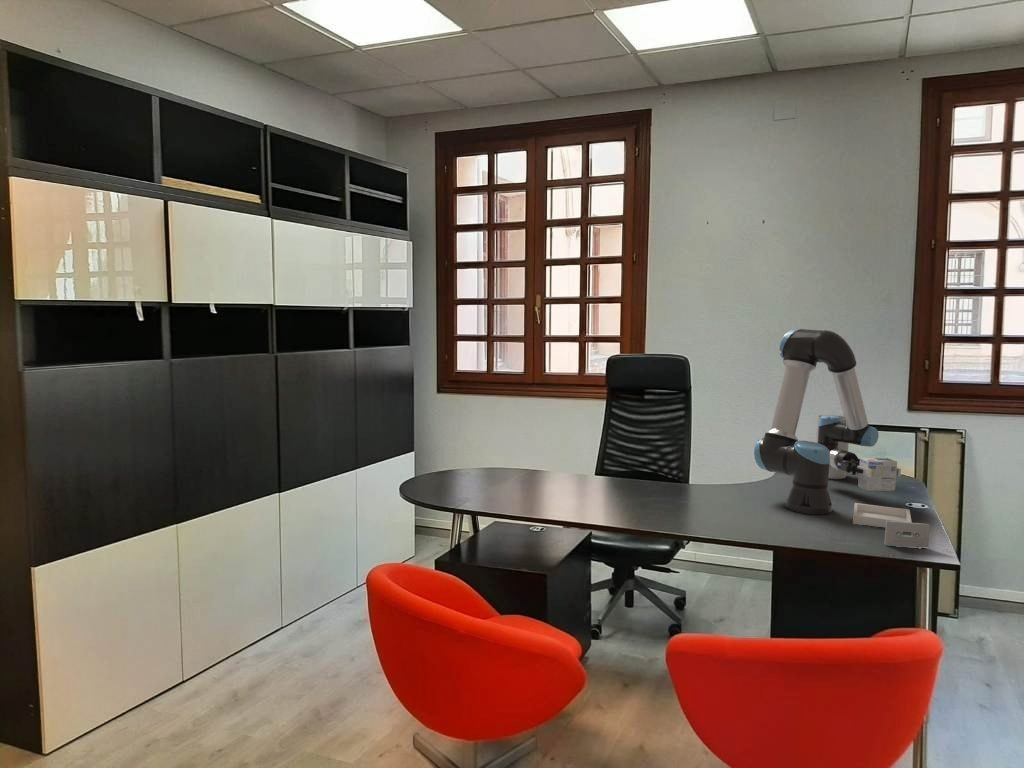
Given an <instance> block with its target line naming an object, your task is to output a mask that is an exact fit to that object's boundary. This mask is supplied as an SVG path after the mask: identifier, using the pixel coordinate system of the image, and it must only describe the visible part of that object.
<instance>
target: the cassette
mask: <svg viewBox="0 0 1024 768" xmlns="http://www.w3.org/2000/svg"><path fill="white" fill-rule="evenodd" d="M930 525H931V524H929V523H921V522H912V523H910V522H896V521H886V528H884V529H885V531H884V540H883V541H884V543H883V544H893V545H902V546H915V547H928V548H929V543H930V531H931V526H930ZM903 533H910V534H911V535H906V534H905V535H903Z"/></svg>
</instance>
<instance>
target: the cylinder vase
mask: <svg viewBox="0 0 1024 768" xmlns="http://www.w3.org/2000/svg"><path fill="white" fill-rule="evenodd" d="M823 415H824V414H819V415H817V419H816V435H815V436H816V437H815V443H818V430H819V427H818V426H819V421H820V417H821V416H823ZM831 415H832V416H838V417H840V421H841V422H842V423H846V422H845V418H844V415H835V414H831ZM838 449H841V450H845V451H848V452H849V443H844V442H838ZM847 473H848V472H846V471H842V470H840V469H839V470H836V468H834V467H831V466H829V477H828V480H842V479H843V480H844V479H846V477H847V475H848V474H847Z"/></svg>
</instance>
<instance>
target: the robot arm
mask: <svg viewBox="0 0 1024 768" xmlns="http://www.w3.org/2000/svg"><path fill="white" fill-rule="evenodd" d="M779 355H780V357H781V358H782V363H783V364H784V366H785V370H784V374H783V377H782V381H781V386H780V389H779V394H778V397H777V403H776V406H775V411H774V415H773V419H772V423H771V427H770V429H768V430H767V431H765V433H764V437H761V438H759V439H758V440H757V441H756V442H755V445H754V450H753V455H754V461H755V463H756V464H757V466H758V467H759V468H760V469H762V470H765V471H768V472H771V473H776V474H780V475H781V474H782V475H786V476H791V477H792V484H791V485H792V486H791V487H790V490H789V493H788V495H787V498H786V500H785V507H786V508H787V509H788V510H790V511H792V512H795V513H799V514H806V515H827V514H831V513H832V511H833V505H832V500H831V497H830V493H829V490H828V488H829V479H828V477H829V466H831V467H834V468H836V470H839V469H840V470H842V471H846V472H847V473H848V474H850V473H851V475H853V476H854V475H855V476H856V475H857V474H858V475H859V474H860V475H863V476H867V477H871V475H872V470H871V469H868V468H864V467H861V466H859V465H860V458H858V456H857V454H856V453H854V452H852V451H851V452H850V451H849V450H848V451H845V450H841V449H838V442H844V443H848V444H850V445H856V446H860V447H867V448H868V447H871V448H872V447H874V446H875V445H876V444H877V443H878V440H879V430H878V429H877V428H876V427H873V426H869V425H870V424H869V420H868V417H867V413H866V408H865V406H864V401H863V397H862V392H861V389H860V385H859V384H860V383H859V381H858V376H857V373H856V369H855V368H856V367H857V360H856V357H855V356H856V355H855V354H854V352H853V349H852V347H850V345H849V343H848V342H847V341H846V340H845V339H844V338H843V336H841V335H839V334H838V333H836V332H834V331H831V330H825V329H824V330H822V329H821V330H819V329H818V330H817V329H806V328H800V329H791V330H788V332H786V333H784V335H783V336H782V338H781V340H780V343H779ZM817 363H823V364H824V365H826V366H827V370H828V371H829V372H830V373H832V377H833V381H834V384H835V389H836V391H837V396H838V398H839V399H838V400H839V403H840V406H841V411H842V414H843V416H844V418H845V422H846V423H842V422H841V421H840V417H838V416H839V415H837V416H832V415H833V414H822V415H823V416H821V417H820V421H819V426H818V427H819V430H818V443H816V441H809V440H799V439H798V438H797V436H796V432H797V427H798V424H799V420H800V419H799V418H800V415H801V411H802V408H803V407H802V406H803V403H804V399H805V394H806V391H807V390H806V389H807V387H808V383H809V379H810V374H811V372H812V371H815V370H816V368H817ZM901 475H902V469H901V468H900V467H897V473H896V477H901Z"/></svg>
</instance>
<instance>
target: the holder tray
mask: <svg viewBox="0 0 1024 768" xmlns="http://www.w3.org/2000/svg"><path fill="white" fill-rule="evenodd" d="M853 506H854V507H853V516H852V518H853V519H852V525H854V524H861V525H860V526H862V525H869V526H868V527H870V526H878V527H886V521H896V522H910V523H913V522H912V518H911V511H910V509H908V508H903V507H902V508H900V507H892V506H884V505H874V504H866V503H860V502H859V503H858V502H854V505H853Z"/></svg>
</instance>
